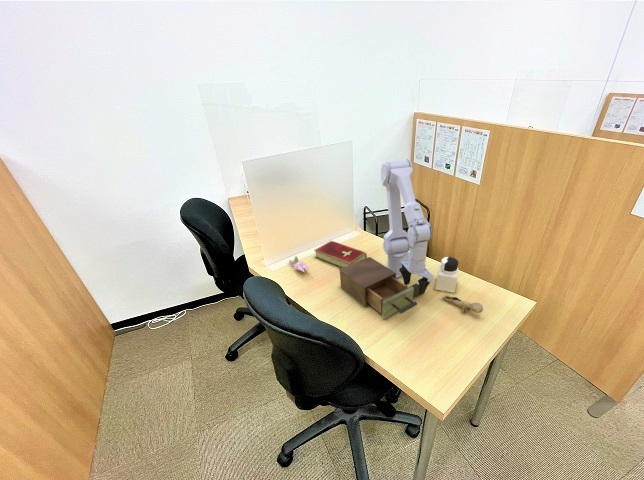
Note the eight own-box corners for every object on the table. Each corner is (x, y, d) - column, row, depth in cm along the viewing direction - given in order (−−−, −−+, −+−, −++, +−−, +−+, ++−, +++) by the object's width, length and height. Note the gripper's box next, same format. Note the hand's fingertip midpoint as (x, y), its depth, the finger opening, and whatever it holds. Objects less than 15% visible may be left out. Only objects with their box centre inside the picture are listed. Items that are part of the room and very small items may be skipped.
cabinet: (395, 291, 110) (396, 273, 106) (365, 307, 104) (364, 287, 99) (369, 274, 121) (369, 256, 116) (340, 287, 114) (339, 269, 109)
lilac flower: (287, 267, 130) (299, 277, 118) (283, 255, 127) (296, 264, 116) (299, 262, 133) (313, 272, 121) (296, 250, 130) (310, 259, 119)
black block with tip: (420, 287, 112) (421, 280, 110) (426, 291, 110) (427, 283, 108) (406, 295, 108) (406, 288, 107) (411, 299, 107) (412, 291, 105)
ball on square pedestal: (455, 282, 114) (460, 256, 107) (454, 293, 109) (459, 266, 102) (437, 279, 116) (441, 253, 109) (435, 289, 111) (439, 263, 104)
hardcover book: (332, 247, 142) (331, 239, 139) (366, 259, 131) (366, 251, 128) (315, 257, 134) (314, 249, 132) (350, 271, 123) (349, 263, 121)
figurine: (441, 305, 106) (479, 318, 95) (441, 294, 104) (479, 307, 93) (448, 301, 108) (485, 314, 97) (447, 290, 106) (485, 302, 95)
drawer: (422, 310, 100) (424, 294, 96) (394, 327, 94) (394, 311, 90) (385, 284, 113) (386, 270, 109) (358, 298, 106) (357, 283, 103)
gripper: (441, 261, 96) (436, 293, 104) (410, 246, 106) (408, 276, 114) (427, 268, 93) (423, 301, 101) (396, 252, 103) (394, 283, 110)
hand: (414, 288), depth 107 cm, fingers open, 7 cm apart
